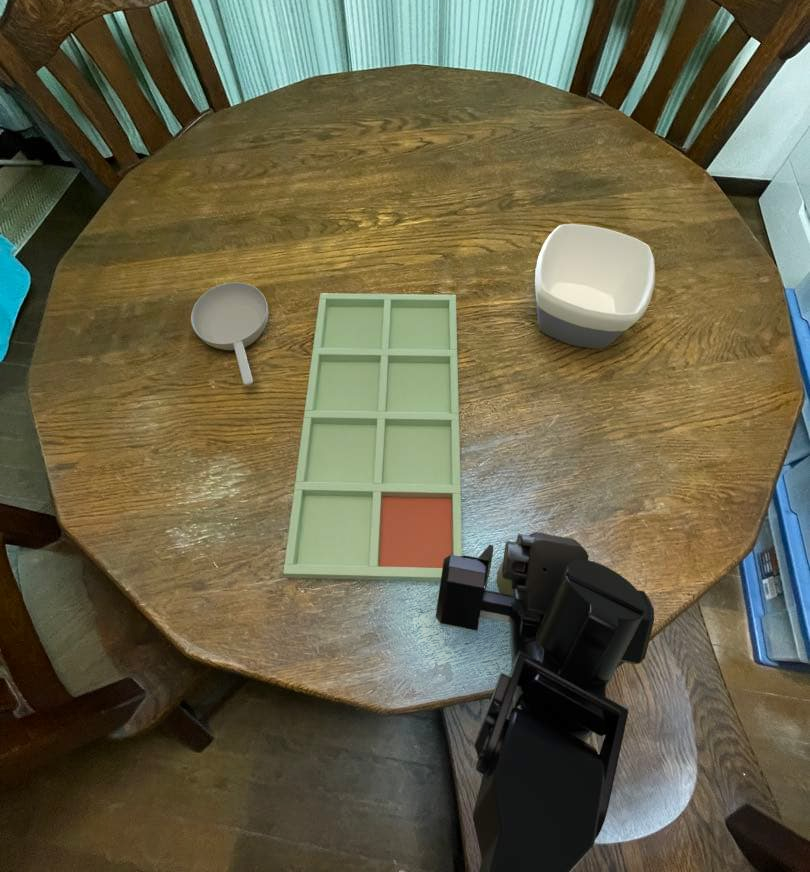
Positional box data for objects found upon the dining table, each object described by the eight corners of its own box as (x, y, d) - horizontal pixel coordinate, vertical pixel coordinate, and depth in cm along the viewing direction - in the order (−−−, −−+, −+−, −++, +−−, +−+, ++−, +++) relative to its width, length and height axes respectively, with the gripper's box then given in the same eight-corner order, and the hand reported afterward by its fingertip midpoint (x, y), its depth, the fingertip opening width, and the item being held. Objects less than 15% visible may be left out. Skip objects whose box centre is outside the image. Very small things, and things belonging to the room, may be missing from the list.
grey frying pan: (262, 287, 91) (257, 272, 87) (293, 384, 81) (288, 370, 78) (192, 308, 89) (184, 293, 85) (216, 410, 79) (207, 397, 76)
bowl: (537, 263, 92) (551, 212, 83) (638, 289, 89) (663, 239, 80) (513, 342, 84) (525, 295, 75) (622, 373, 81) (649, 328, 72)
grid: (461, 582, 67) (463, 578, 65) (286, 577, 68) (282, 573, 66) (455, 304, 88) (455, 294, 86) (322, 302, 89) (320, 293, 87)
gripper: (693, 603, 44) (641, 502, 59) (444, 556, 46) (456, 471, 61) (661, 727, 46) (619, 599, 61) (426, 676, 48) (442, 565, 64)
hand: (534, 556), depth 62 cm, fingers open, 9 cm apart
